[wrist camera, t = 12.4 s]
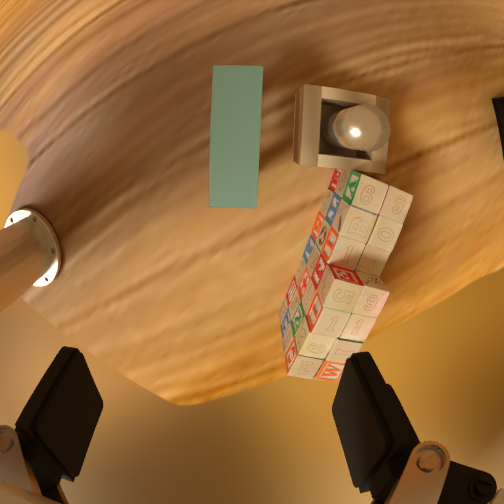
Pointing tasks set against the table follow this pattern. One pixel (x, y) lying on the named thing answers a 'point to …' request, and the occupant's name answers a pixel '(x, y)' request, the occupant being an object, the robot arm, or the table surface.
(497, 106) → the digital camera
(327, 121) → the peg
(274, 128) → the table surface
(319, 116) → the socket
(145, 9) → the table surface
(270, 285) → the table surface
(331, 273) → the stack of blocks
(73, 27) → the table surface
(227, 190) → the teal bridge block
